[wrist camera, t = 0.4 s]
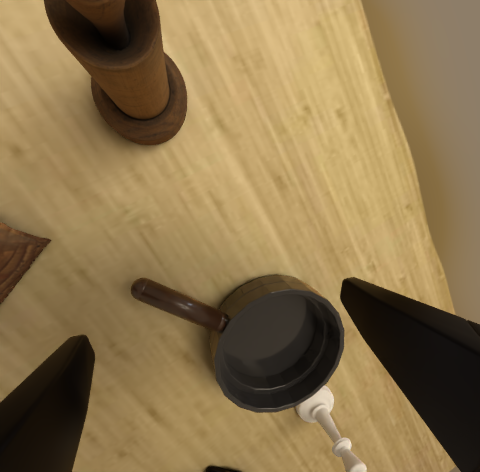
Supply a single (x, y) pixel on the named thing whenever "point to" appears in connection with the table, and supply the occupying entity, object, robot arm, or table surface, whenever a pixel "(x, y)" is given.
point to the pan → (276, 344)
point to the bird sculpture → (16, 256)
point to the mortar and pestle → (124, 64)
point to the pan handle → (178, 304)
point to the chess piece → (329, 427)
